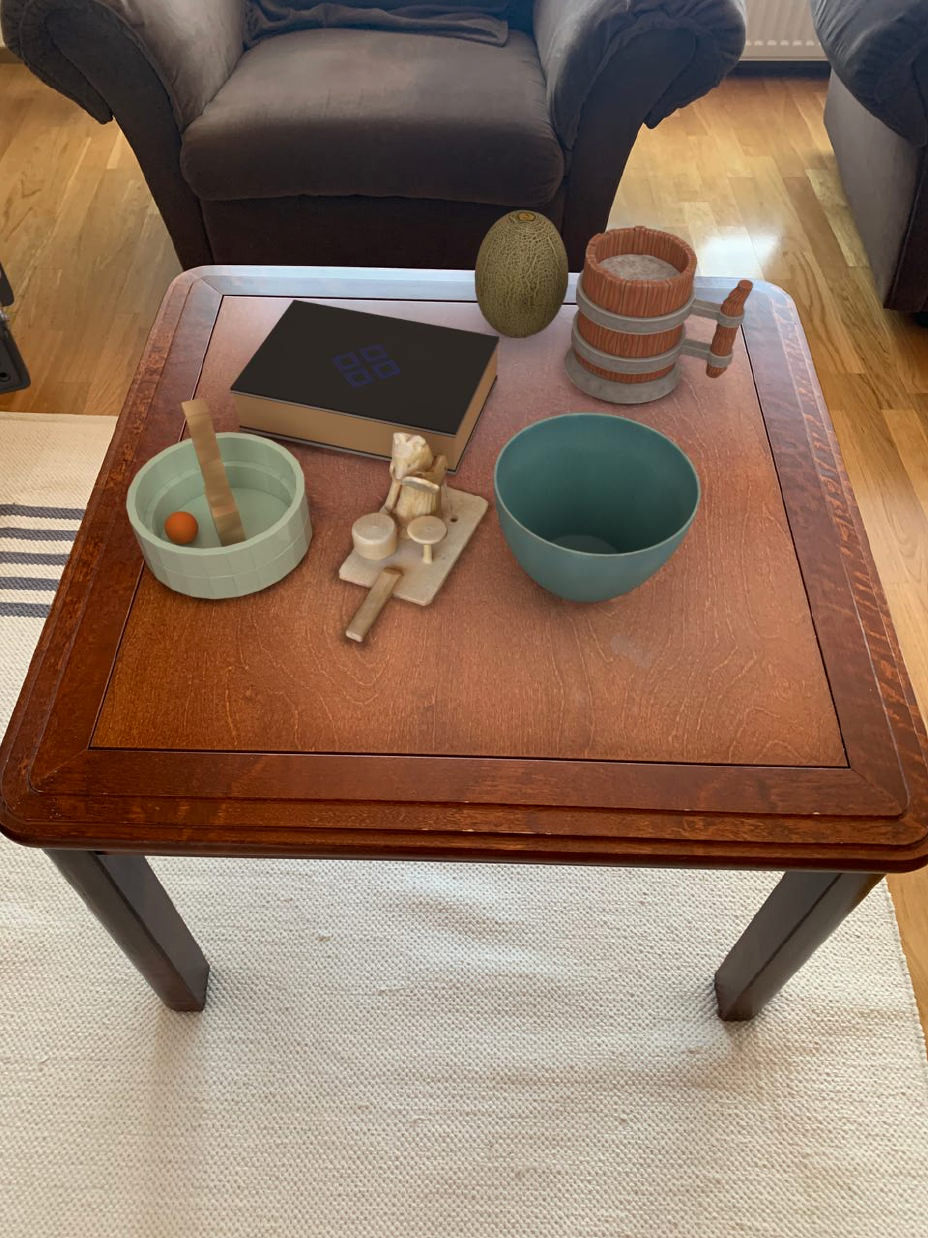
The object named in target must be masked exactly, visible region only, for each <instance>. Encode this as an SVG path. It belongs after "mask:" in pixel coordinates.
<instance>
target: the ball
mask: <svg viewBox="0 0 928 1238" xmlns="http://www.w3.org/2000/svg"><path fill="white" fill-rule="evenodd" d="M164 528H165V533H166V535H167V536H168V538H169V539H170V540H171V541H173V542H175V543H178V544H186V543H189V542H191V541H192V540H193V539H194V538H195V537H196V536H197V533H198V523H197V520H196V519H195V518H194V516H192V515H191V514H190V513H187V512H184V511H178V512H175V513H173V514H171V515H170V516H169V517H168V518H167V519H166V522H165V527H164Z"/></svg>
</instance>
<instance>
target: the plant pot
mask: <svg viewBox="0 0 928 1238" xmlns="http://www.w3.org/2000/svg"><path fill="white" fill-rule="evenodd" d="M497 455H498V456H497V457H496V460H495V464H494V468H493V495H494V497H493V498H494V504H495V510H496V514H497V518H498V522H499V525H500V529H501V531H502V534H503V536H504V540H505V541H506V543H507V546H508V548H509V549H510V551H511V554H512V555H513V557H514V559H515V560H516V561H517V563H518V565H519V566H520V567H521V568H522V569H523V571H524V572H525V573H526V574H527V575H528V577H530V578H531V580H533V581H534V582H535V583H536V584H538V585H539V586H540V587H542V588H543V589H544V590H546V591H547V592H549V593H551V594H553V595H554V596H556V597H558V598H561V599H564V600H566V601H570V602H574V603H587V604H589V603H596V602H597V603H599V602H603V601H607V600H611V599H615V598H618V597H620V596H623V595H625V594H627V593H629V592H631V591H634V590H635V589H637V588H638V587H640V586H641V585H643V584H644V583H645V582H646V581H648V580H649V579H651V578H652V577H653V576H654V575H655V574H656V573H657V572H659V570H660V569H661V568H663V567H664V565H666V563H667V562H668V561H669V559H671V557H672V556H673V555H674V554H675V553H676V551H677V549H678V548H679V547H680V545H681V544H682V542H683V540H684V539H685V538H686V535H687V534H688V532H689V530H690V528H691V526H692V524H693V522H694V520H695V517H696V515H697V512H698V509H699V505H700V501H701V494H702V493H701V489H702V488H701V482H700V478H699V475H698V472H697V470H696V468H695V466H694V464H693V462H692V461H691V459H690V458H689V456H688V455H687V454H686V453H685V451H684V450H683V449H682V448H681V447H679V446H678V444H676V442H674V441H673V440H672V439H671V438H669V437H668V436H667V435H665V434H663V433H662V432H660V431H659V430H657V429H655V428H653V427H652V426H650V425H647V424H645V423H642V422H639V421H637V420H633V419H631V418H628V417H623V416H620V415H614V414H610V413H603V412H602V413H600V412H572V413H563V414H558V415H553V416H549V417H546V418H543V419H540V420H537V421H535V422H533V423H531V424H529V425H528V426H525V427H523V428H522V429H521V430H519V431H517V432H516V433H515V434H514V435H512V437H510V438H509V439H508V440H507V442H506V443H505V444H504V445H503V447H502V448H501V450H500V451H499V454H497Z"/></svg>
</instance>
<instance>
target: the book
mask: <svg viewBox="0 0 928 1238" xmlns="http://www.w3.org/2000/svg"><path fill="white" fill-rule="evenodd" d="M500 339H501V338H500V336H497V335H493V334H487V333H481V332H476V331H471V330H464V329H461V328H454V327H448V326H443V325H438V324H431V323H427V322H421V321H417V320H416V321H415V320H409V319H404V318H399V317H392V316H388V315H383V314H376V313H371V312H365V311H359V310H354V309H348V308H343V307H338V306H332V305H326V304H321V303H317V302H310V301H304V300H300V299H293V300H292V301H291V303H290V304H289V306H288V307H287V308H286V310H285V311H284V312H283V314H281V317H280V318H279V319H278V321H276V323H275V325H274V326H273V327H272V328H271V331H270V332H269V333H268V334H267V336H266V337H265V338H264V340H263V341H262V342H261V344H260V345H259V347H258V348H257V350H256V351H255V352H254V353H253V355H252V356H251V358H250V359H249V361H248V362H247V364H246V365H245V366H244V368H243V369H242V371H241V372H240V373H239V375H238V376H237V377H236V379H235V380H234V382H233V383H232V384H231V386H230V387H229V391H230V393H231V394H232V395H233V400H234V404H235V408H236V412H237V417H238V421H239V425H238V428H239V432H243V433H247V434H253V435H257V436H261V437H262V436H263V437H268V438H272V439H277V440H281V441H287V442H291V443H297V444H300V445H301V444H302V445H306V446H310V447H315V448H320V449H325V450H330V451H335V452H338V453H339V452H340V453H344V454H348V455H349V454H350V455H352V456H353V455H354V456H359V457H364V458H369V459H373V460H377V461H378V460H379V461H383V462H387V463H391V461H392V446H393V439H394V438H393V434H394V433H396V432H406V433H408V434H415V435H419V436H421V437H423V438H424V439H425V440H426V442H427V444H428V445H429V447H430V448H431V451H432V453H433V455H434V456H436V455H438V454H443V455H445V457H446V459H447V462H448V468H447V472H446V474H445V475H449V476H454V477H456V476H457V473H458V471H459V469H460V466H461V464H462V461H463V460H464V457H465V455H466V454H467V451H468V448H469V446H470V444H471V441H472V439H473V437H474V434H475V432H476V430H477V428H478V426H479V423H480V421H481V419H482V416H483V415H484V411H485V410H486V407H487V405H488V404H489V403H488V402H489V400H490V398H491V395H492V394H493V391H494V389H495V386H496V384H497V382H498V380H499V378H498V377H499V375H498V374H497V370H498V346H499V344H500Z"/></svg>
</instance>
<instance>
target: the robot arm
mask: <svg viewBox="0 0 928 1238" xmlns="http://www.w3.org/2000/svg"><path fill="white" fill-rule="evenodd" d="M14 303H15V295H14V290H13V288H12V286H11V284H10V281H9V279H8V276H7V274H6V271H5V269H4V267H3V264H2V262H1V261H0V396H1V395H6V394H10V393H15V392H19V391H23V390H26V389H28V388H29V387H30V386H31V384H32V380H31V376H30V372H29V369H28V368H27V364H26V363H25V360H24V358H23V356H22V354H21V351H20V349H19V346H18V345H17V342H16V340H15V338H14V336H13V333H12V330H11V329H10V325H9V322H11V321H10V318H9V315H8V313H7V311H4V308H6V307H10V306H12V305H13V304H14Z"/></svg>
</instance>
